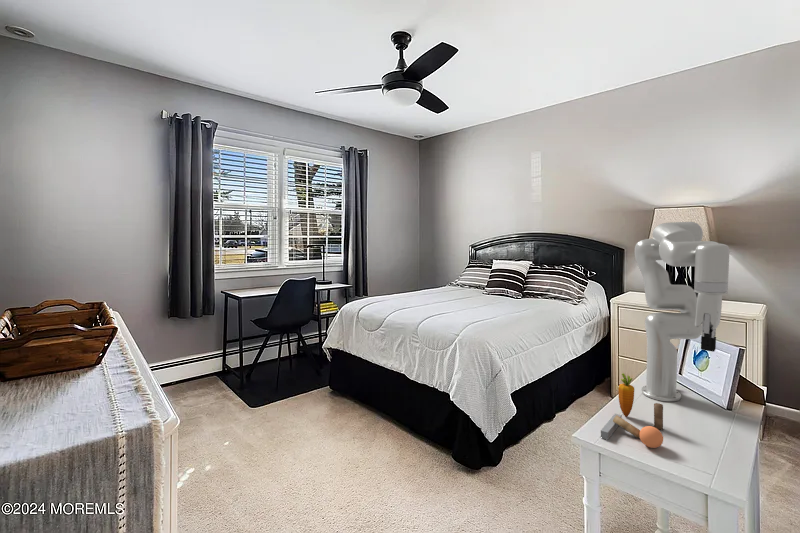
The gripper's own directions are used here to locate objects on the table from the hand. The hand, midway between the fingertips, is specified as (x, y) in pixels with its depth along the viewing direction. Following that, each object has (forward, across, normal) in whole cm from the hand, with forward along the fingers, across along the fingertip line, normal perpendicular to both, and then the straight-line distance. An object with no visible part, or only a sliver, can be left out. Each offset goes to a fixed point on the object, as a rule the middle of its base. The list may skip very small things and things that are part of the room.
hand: (708, 349), depth 115 cm
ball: (+26, +11, -11) cm, 30 cm away
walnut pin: (+29, -2, -12) cm, 32 cm away
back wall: (+29, +8, -23) cm, 38 cm away
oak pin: (+28, +8, -15) cm, 33 cm away
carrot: (+29, -4, -22) cm, 37 cm away
